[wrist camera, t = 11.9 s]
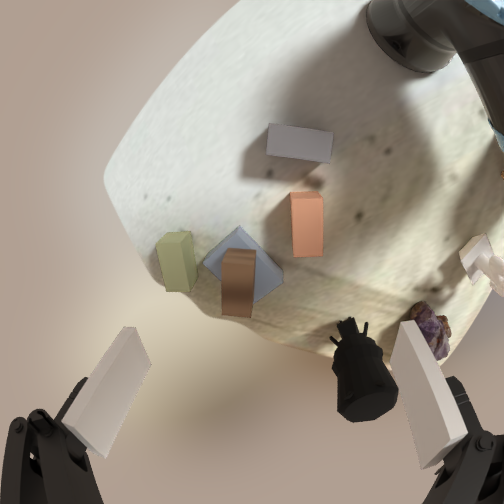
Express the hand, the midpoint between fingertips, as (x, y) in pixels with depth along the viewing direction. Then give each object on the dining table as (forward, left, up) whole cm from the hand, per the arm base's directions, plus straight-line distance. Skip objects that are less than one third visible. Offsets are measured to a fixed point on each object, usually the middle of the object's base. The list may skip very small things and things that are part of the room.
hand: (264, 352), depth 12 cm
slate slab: (+9, -5, -30) cm, 32 cm away
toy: (+21, +12, -30) cm, 38 cm away
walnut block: (+9, -5, -26) cm, 28 cm away
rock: (+24, +29, -30) cm, 48 cm away
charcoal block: (-9, +4, -30) cm, 31 cm away
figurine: (+9, +37, -30) cm, 48 cm away
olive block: (+7, -15, -30) cm, 34 cm away
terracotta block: (+2, +5, -30) cm, 30 cm away
